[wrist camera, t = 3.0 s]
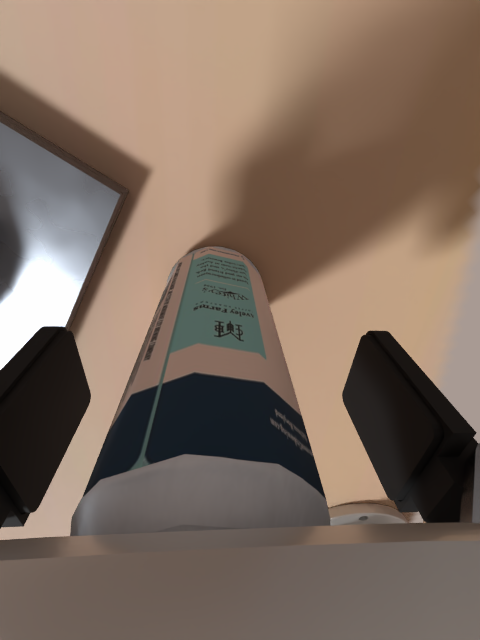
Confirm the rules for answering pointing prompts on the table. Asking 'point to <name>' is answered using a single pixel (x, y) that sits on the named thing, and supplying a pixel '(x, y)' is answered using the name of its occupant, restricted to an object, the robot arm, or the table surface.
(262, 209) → the table surface
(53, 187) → the grey square plate
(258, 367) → the beer can
